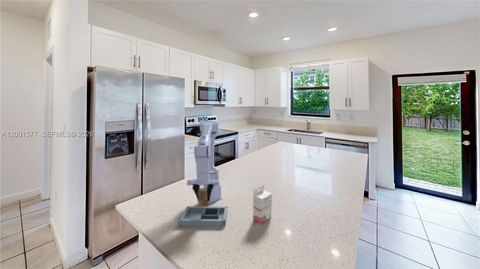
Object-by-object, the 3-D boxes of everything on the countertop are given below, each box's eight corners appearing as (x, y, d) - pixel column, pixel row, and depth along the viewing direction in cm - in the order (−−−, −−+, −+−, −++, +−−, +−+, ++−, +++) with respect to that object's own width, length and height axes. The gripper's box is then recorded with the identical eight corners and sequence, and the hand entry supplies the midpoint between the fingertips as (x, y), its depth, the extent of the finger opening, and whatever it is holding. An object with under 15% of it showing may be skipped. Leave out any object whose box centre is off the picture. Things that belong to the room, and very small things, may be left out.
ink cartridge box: (262, 224, 91) (262, 192, 90) (252, 220, 94) (252, 189, 93) (272, 216, 98) (272, 186, 96) (263, 213, 101) (263, 184, 99)
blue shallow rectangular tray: (227, 211, 103) (227, 205, 103) (225, 226, 90) (225, 219, 90) (187, 211, 103) (187, 204, 103) (179, 226, 91) (178, 218, 90)
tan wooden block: (209, 202, 98) (208, 188, 97) (207, 206, 94) (207, 191, 93) (200, 202, 98) (200, 188, 97) (198, 206, 94) (198, 191, 93)
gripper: (184, 174, 90) (185, 203, 92) (217, 174, 90) (218, 204, 91) (188, 169, 97) (189, 197, 99) (219, 169, 97) (220, 197, 98)
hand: (203, 200), depth 96 cm, fingers closed on tan wooden block, 4 cm apart
